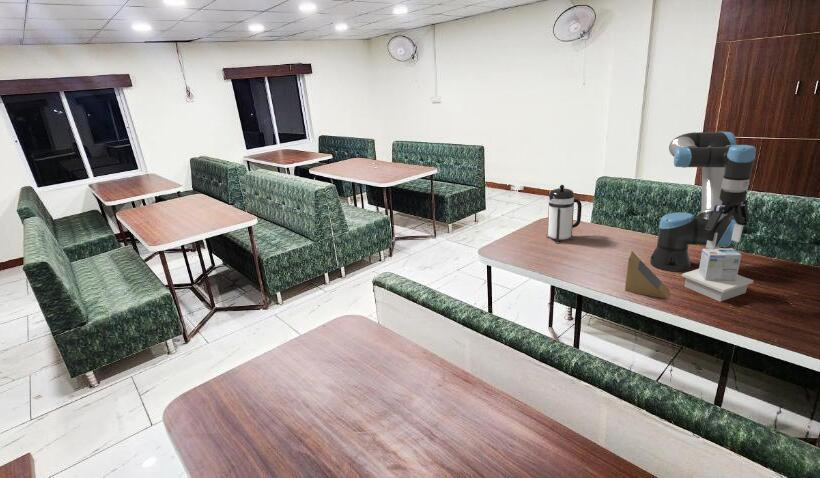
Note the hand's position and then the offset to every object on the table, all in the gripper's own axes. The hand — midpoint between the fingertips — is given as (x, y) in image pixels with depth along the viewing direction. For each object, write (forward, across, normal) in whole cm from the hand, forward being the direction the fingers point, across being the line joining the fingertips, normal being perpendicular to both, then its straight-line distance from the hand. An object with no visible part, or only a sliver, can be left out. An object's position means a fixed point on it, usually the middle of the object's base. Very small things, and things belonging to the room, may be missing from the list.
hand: (722, 244), depth 153 cm
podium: (+19, 0, 0) cm, 19 cm away
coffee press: (+20, -12, +75) cm, 78 cm away
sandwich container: (+19, -22, +11) cm, 31 cm away
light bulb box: (+14, 0, 0) cm, 14 cm away
